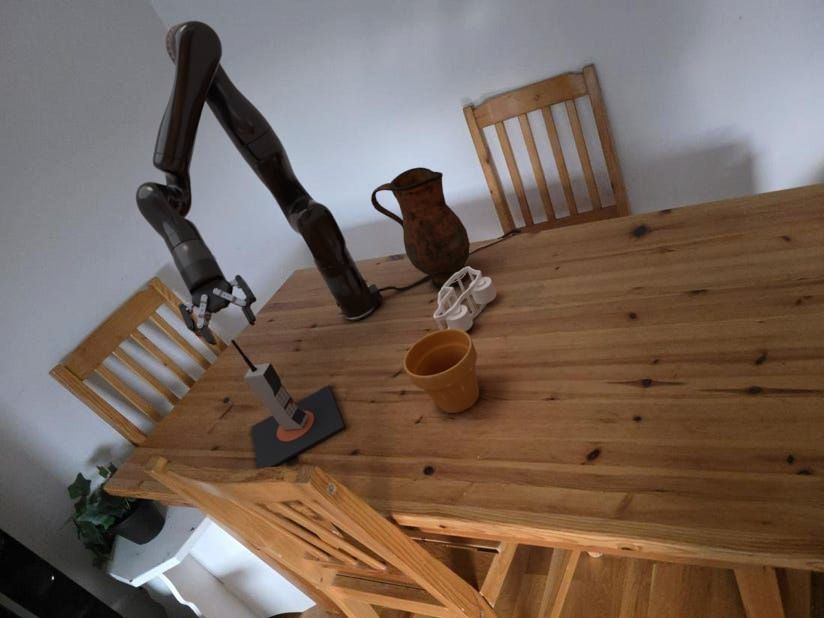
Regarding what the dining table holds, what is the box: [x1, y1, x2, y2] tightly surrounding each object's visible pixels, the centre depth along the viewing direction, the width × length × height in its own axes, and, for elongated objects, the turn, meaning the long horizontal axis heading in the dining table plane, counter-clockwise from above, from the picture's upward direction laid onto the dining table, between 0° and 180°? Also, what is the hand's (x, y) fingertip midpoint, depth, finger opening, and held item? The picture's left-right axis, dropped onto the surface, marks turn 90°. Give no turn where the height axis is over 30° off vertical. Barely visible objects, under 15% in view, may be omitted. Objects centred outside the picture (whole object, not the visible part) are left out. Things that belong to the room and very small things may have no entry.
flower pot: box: [403, 328, 480, 414], centre depth 120 cm, size 14×14×13 cm
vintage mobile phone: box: [230, 339, 308, 430], centre depth 126 cm, size 4×5×25 cm
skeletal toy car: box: [433, 265, 497, 332], centre depth 144 cm, size 20×11×7 cm, turn 147°
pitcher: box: [370, 166, 471, 290], centre depth 154 cm, size 17×21×30 cm
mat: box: [251, 384, 346, 469], centre depth 133 cm, size 20×17×1 cm
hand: (233, 334), depth 122 cm, fingers open, 8 cm apart
